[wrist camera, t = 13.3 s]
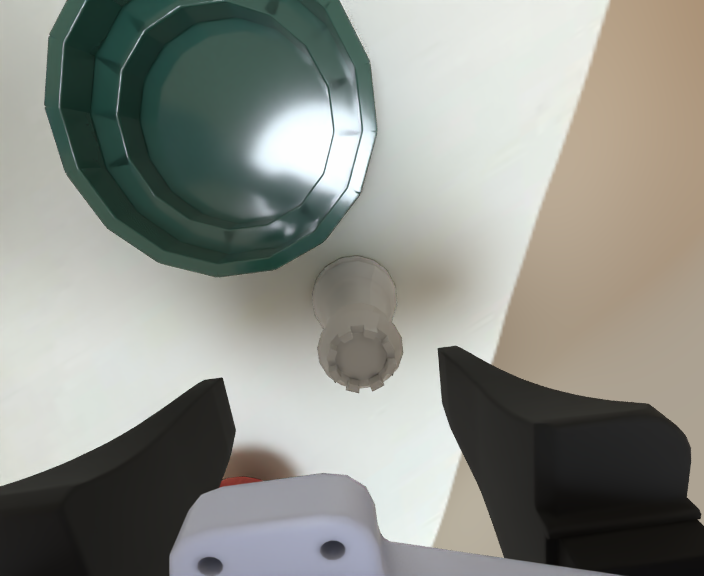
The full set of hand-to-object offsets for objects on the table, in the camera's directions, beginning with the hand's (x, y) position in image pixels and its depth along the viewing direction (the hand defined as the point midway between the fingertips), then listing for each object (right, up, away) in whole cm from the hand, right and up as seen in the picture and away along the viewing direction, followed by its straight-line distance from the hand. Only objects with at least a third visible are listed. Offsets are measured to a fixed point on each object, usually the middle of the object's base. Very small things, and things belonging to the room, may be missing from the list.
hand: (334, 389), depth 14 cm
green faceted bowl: (-5, +11, +6) cm, 14 cm away
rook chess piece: (+1, +3, +9) cm, 10 cm away
